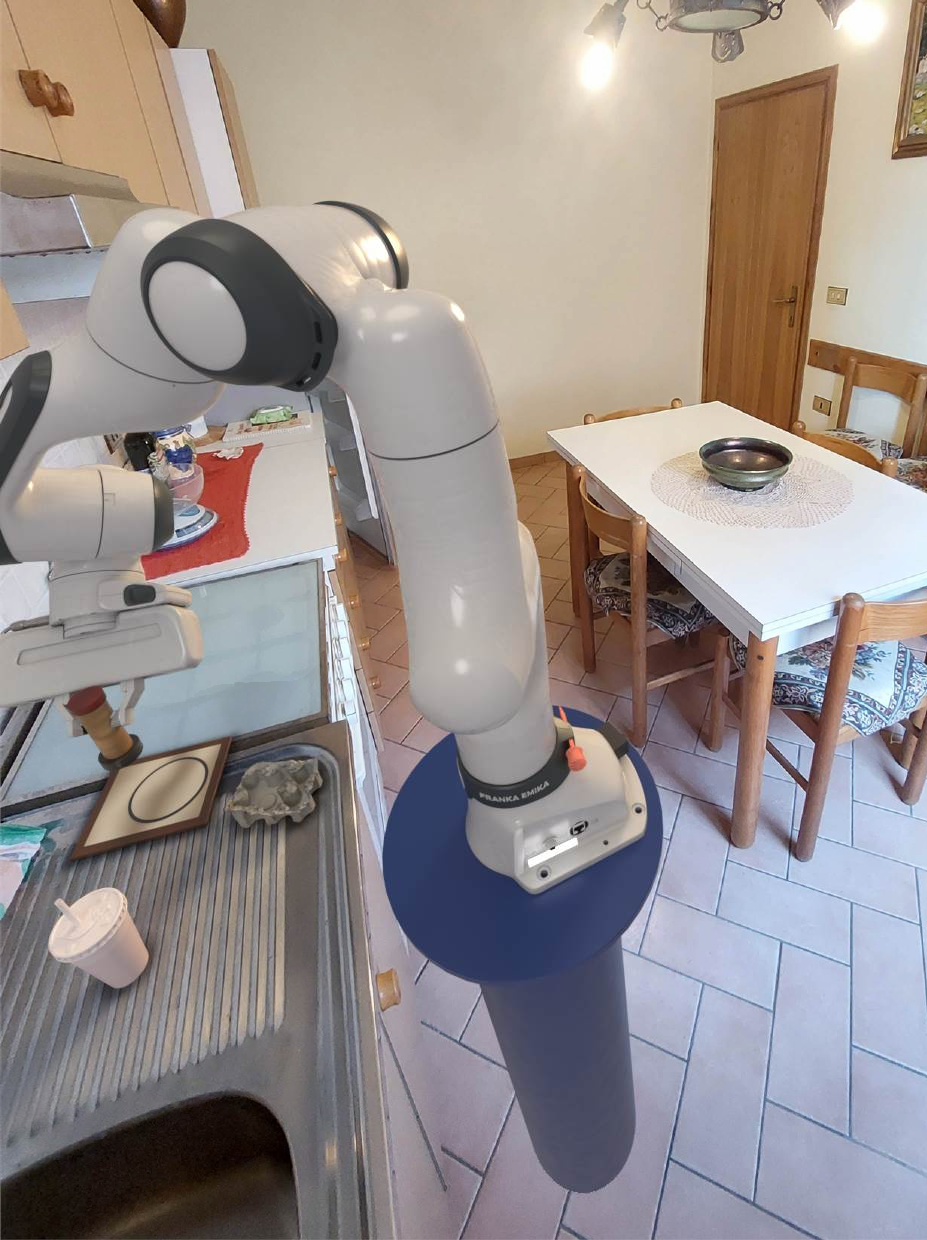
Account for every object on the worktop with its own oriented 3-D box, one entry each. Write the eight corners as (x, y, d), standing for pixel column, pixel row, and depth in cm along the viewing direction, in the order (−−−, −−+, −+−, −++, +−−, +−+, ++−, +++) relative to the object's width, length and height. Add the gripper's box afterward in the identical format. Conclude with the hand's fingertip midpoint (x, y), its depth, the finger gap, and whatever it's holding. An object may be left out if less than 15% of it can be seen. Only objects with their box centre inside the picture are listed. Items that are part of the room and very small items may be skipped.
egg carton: (228, 831, 77) (216, 811, 75) (254, 777, 84) (244, 758, 82) (310, 825, 77) (300, 805, 75) (329, 772, 83) (320, 753, 81)
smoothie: (91, 965, 65) (23, 895, 58) (157, 920, 68) (100, 849, 62) (97, 1020, 60) (24, 951, 54) (167, 969, 64) (107, 898, 57)
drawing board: (233, 738, 90) (231, 734, 90) (207, 825, 78) (205, 822, 78) (116, 766, 87) (114, 763, 87) (71, 861, 75) (68, 858, 75)
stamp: (148, 736, 70) (113, 679, 66) (135, 766, 67) (97, 707, 62) (111, 745, 69) (72, 688, 65) (96, 775, 66) (54, 717, 61)
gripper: (-26, 622, 64) (-31, 759, 60) (180, 582, 68) (187, 709, 64) (18, 627, 70) (16, 751, 66) (205, 590, 74) (213, 706, 70)
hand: (101, 731), depth 65 cm, fingers closed on stamp, 3 cm apart
